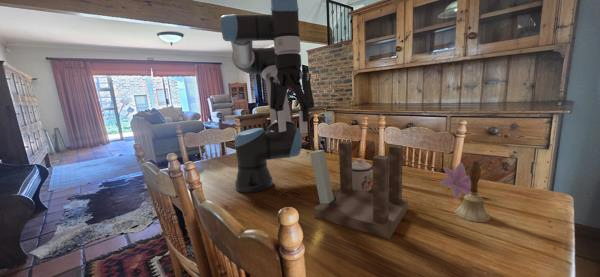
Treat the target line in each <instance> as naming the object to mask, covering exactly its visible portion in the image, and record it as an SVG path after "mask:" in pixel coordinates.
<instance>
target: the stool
mask: <svg viewBox="0 0 600 277" xmlns="http://www.w3.org/2000/svg"><path fill="white" fill-rule="evenodd" d="M352 148H353V147H352V141H346V140H345V141H344V140H342V141H340V142H339V143H338V153H339V154H338V157H339V158H338V159H339V161H338V162H339V185H340V187H339V189H338V190H336V191H335V192H334V193H333V198H334V200H333V201H331V202H330V203H329V204H328V203H320V202H319V204H318V205H316V206H315V207H314V208H313V209H314V210H313V211H314V218H315V219H319V220H322V221H325V222H329V223H333V224H337V225H339V226H344V227H346V228H350V229H353V230H357V231H361V232H363V233H364V232H365V233H368V234H370V235H374V236H378V237H382V238H385V239H388V240H390V239H391V237H392V236H393V234H394V233H395V231H396V230H397V228H398V227H399V225H400V223H401V221H402V219H403V218H404V216H405V215H406V213H407V212H408V211H409V210H408V208H409V200H408V199H403V145H401V144H400V145H399V144H391V145H390V146H388V156H387V155H378V154H377V155H375V156H373V157H372V192H363V191H357V190H353V187H352V162H353V154H352V152H353V150H352Z"/></svg>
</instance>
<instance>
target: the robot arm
mask: <svg viewBox="0 0 600 277" xmlns="http://www.w3.org/2000/svg"><path fill="white" fill-rule="evenodd" d="M270 10H271V14H233V13H231V14H225V15H224V14H223V15H222V16H220V29H221V35H222V36H221V37H222V40H223V41H225V42H230V43H231V48H232V52H231V59H232V62H233V64H234V66H235V67H236V68H237V69H238V70H239V71H240V72H241V71H242V72H244V73H246V74H249V75H261V77H262V78H263V80H265V86H266V87H265V88H266V94H267V100H268V108H269V116H270V117H269V118H270V125H269V126H268V128H267V129H268V130H266V131H265V129H264V128H263V127H257V128H256V127H255V128H249V129H247V130H243V131H240V132H238V133H236V134H235V136H234V143H235V144H234V147H235V152H236V163H237V173H236V180H235V185H234V186H235V190H236V191H238V192H239V193H244V194H245V193H247V194H249V193H250V194H251V193H257V192H258V193H260V192H262V191H265V190H268V189H270V188H271V187H272V186H273V184H274V182H273V177H272V176H271V172H270V170H269V168H268V162H267V161H269V160H279V159H286V158H288V159H290V158H294V157H298V156H299V155H300V153H301V152H302V151H301V150H302V143H303V142H302V141H303V140H302V134H306V133H308V132H309V131H308V122H309V121H310V116H309V115H310V114H309V110H311V109H313V108H315V102H314V97H313V92H312V91H313V90H312V85H311V73H310V72H302V69H301V68H302V55H301V54H300V53H301V51H302V50H301V38H300V20H299V5H298V0H270ZM255 41H258V42H261V41H273V47H258V48H255V47H253V42H255ZM300 80H301V81H300ZM289 88H291V89H292V90H293V92H294V95H295V97H296V99H297V103H298V104H299V107H300V109H299V111H298V115H299V117H298V120H299V127H297V125H296V123H295V122H294V121H292V117H291V112H290V105H289V100H288V99H289V98H288V93H287V92H288V91H289Z"/></svg>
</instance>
